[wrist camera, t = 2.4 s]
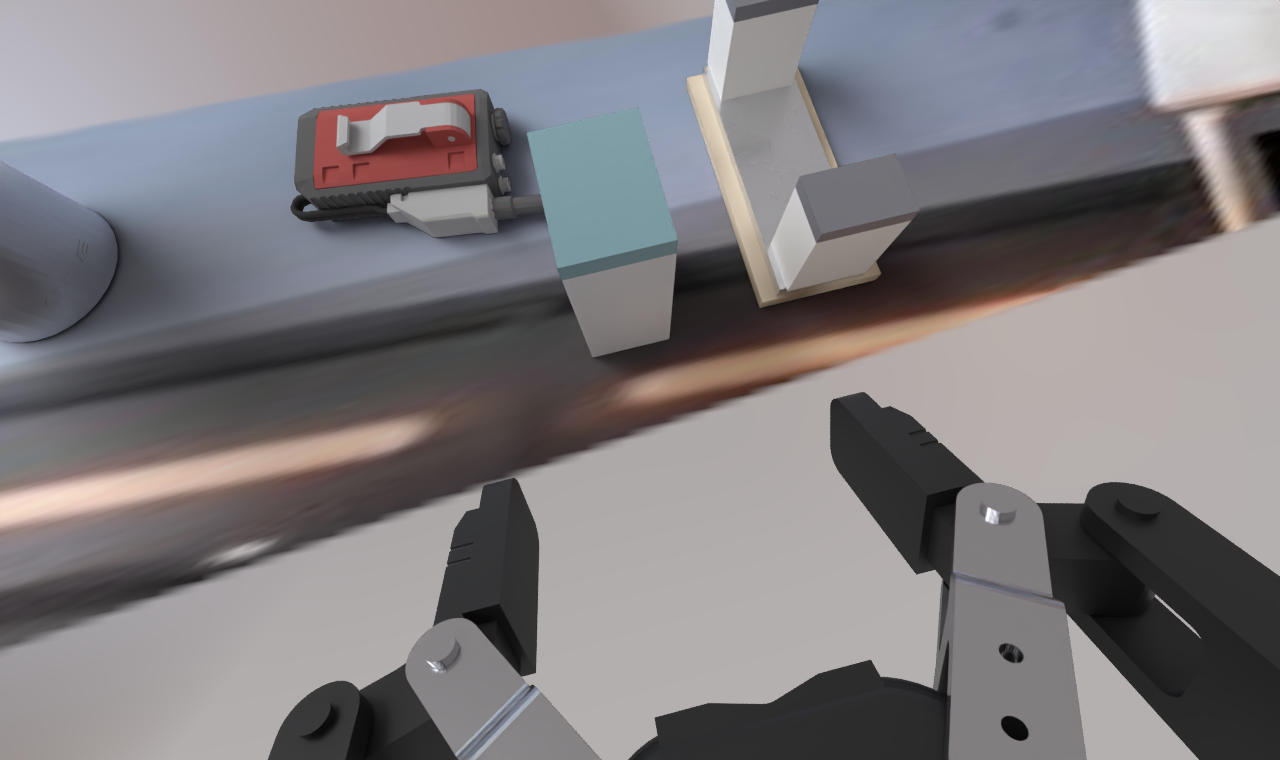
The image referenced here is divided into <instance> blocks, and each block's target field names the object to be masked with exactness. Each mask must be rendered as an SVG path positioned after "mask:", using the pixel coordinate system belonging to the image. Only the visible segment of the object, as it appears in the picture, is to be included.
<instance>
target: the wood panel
mask: <svg viewBox="0 0 1280 760" xmlns="http://www.w3.org/2000/svg"><path fill="white" fill-rule="evenodd" d="M794 77H795V80H796V82H797V85H798V87H799V90H800V92H801V95H802V97H803V100H804V102H805V105H806V107H807V110H808V112H809V115H810V117H811V120H812V122H813V125H814V127H815V130H816V132H817V135H818V137H819V140H820V142H821V145H822V147H823V150H824V153H825V155H826V158H827V160H828V163H829V165H830V168H831V169H832V168H836V167H838V166H837V163H836V161H835V158H834V156H833V153H832V151H831V148H830V146H829V143H828V141H827V138H826V136H825V133H824V131H823V128H822V126H821V123H820V121H819V118H818V116H817V114H816V111H815V109H814V106H813V104H812V101H811V99H810V96H809V94H808V91H807V89H806V86H805V84H804V81H803V79H802V76H801V74H800V71H799V69H798V67H797V70H796V73H795V76H794ZM687 90H688V93H689V96H690V99H691V102H692V105H693V108H694V111H695V114H696V117H697V120H698V123H699V126H700V129H701V132H702V135H703V138H704V141H705V144H706V147H707V151H708V154H709V157H710V160H711V163H712V166H713V169H714V172H715V175H716V178H717V181H718V184H719V187H720V190H721V193H722V196H723V199H724V202H725V205H726V208H727V211H728V214H729V217H730V220H731V223H732V226H733V229H734V232H735V235H736V238H737V241H738V244H739V247H740V251H741V254H742V257H743V260H744V263H745V266H746V269H747V272H748V275H749V278H750V281H751V284H752V287H753V290H754V293H755V296H756V299H757V302H758V305H759V308H762V307H766V306H770V305H774V304H779V303H783V302H787V301H791V300H795V299H799V298H803V297H807V296H812V295H816V294H820V293H824V292H828V291H832V290H836V289H840V288H844V287H849V286H853V285H857V284H861V283H865V282H869V281H873V280H876V279H877V278H878V277H879V276H880V274H881V272H880V270H879V267H878V265H877V262H876V261H875V262H874V264H873V265H872V266H871V267H870V269H869V270H868V271H867V272H866V273H865V274H864V275H860V276H856V277H852V278H848V279H844V280H839V281H835V282H831V283H827V284H823V285H819V286H815V287H811V288H806V289H802V290H798V291H794V292H790V293H786V294H782V295H778V296H777V295H776V292H775V290H774V287H773V284H772V281H771V278H770V275H769V272H768V269H767V266H766V263H765V260H764V257H763V254H762V251H761V249H760V246H759V243H758V240H757V237H756V234H755V231H754V228H753V225H752V222H751V219H750V216H749V213H748V210H747V208H746V205H745V202H744V199H743V196H742V193H741V190H740V187H739V184H738V181H737V178H736V175H735V172H734V169H733V167H732V164H731V161H730V158H729V155H728V152H727V149H726V146H725V143H724V140H723V137H722V134H721V131H720V128H719V126H718V123H717V120H716V117H715V114H714V111H713V108H712V105H711V102H710V99H709V96H708V93H707V90H706V87H705V85H704V82H703V79H702V75H697V76H693V77H688V78H687Z"/></svg>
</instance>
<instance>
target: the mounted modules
mask: <svg viewBox="0 0 1280 760" xmlns="http://www.w3.org/2000/svg"><path fill="white" fill-rule="evenodd" d="M818 1H819V0H715V5H714V13H713V22H712V30H711V39H710V47H709V55H708V65H709V68H710V71H711V74H712V77H713V80H714V83H715V85H716V88H717V91H718V94H719V97H720V100H721V101H724V100H729V99H733V98H737V97H742V96H746V95H751V94H755V93H759V92H764V91H768V90H773V89H777V88H781V87H786V86H790V85H792V83H793V79H794V76H795V73H796V70H797V67H798V64H799V61H800V58H801V55H802V51H803V48H804V45H805V42H806V39H807V36H808V33H809V30H810V26H811V23H812V20H813V17H814V14H815V11H816V8H817V5H818ZM919 211H920V209H919V206H918V204H917V202H916V200H915V197H914V195H913V193H912V191H911V188H910V186H909V184H908V181H907V179H906V177H905V175H904V172H903V170H902V168H901V166H900V163H899V161H898V159H897V156H896V154H892V155H887V156H883V157H879V158H875V159H870V160H866V161H862V162H858V163H853V164H849V165H845V166H841V167H836V168H832V169H828V170H823V171H819V172H815V173H811V174H806V175H802V176H800V177H799V179H798V182H797V184H796V186H795V188H794V191H793V193H792V195H791V198H790V200H789V202H788V205H787V207H786V209H785V212H784V214H783V216H782V219H781V221H780V223H779V226H778V228H777V230H776V233H775V235H774V237H773V239H772V242H771V246H772V249H773V252H774V255H775V258H776V261H777V264H778V266H779V269H780V272H781V275H782V278H783V281H784V284H785V287H786V289H787V291H791V290H796V289H800V288H804V287H808V286H812V285H816V284H820V283H824V282H829V281H833V280H837V279H841V278H845V277H849V276H853V275H857V274H862V273H866V272H867V270H868V269H869V268H870V267H871V266H872V265H873V264H874V262H875V261H876V260H877V259H878V258H879V257H880V256H881V254H882V253H883V252H884V251H885V250H886V249H887V248H888V247H889V245H890V244H891V243H892V242H893V241H894V240H895V239H896V237H897V236H898V235H899V234H900V233H901V232H902V231H903V229H904V228H905V227H906V226H907V225H908V224H909V223H910V221H911V220H912V219H913V218H914V217H915V216H916V215H917V213H918V212H919Z"/></svg>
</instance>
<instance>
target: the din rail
mask: <svg viewBox="0 0 1280 760" xmlns="http://www.w3.org/2000/svg"><path fill="white" fill-rule="evenodd" d="M702 79H703V82H704V85H705V87H706V90H707V93H708V96H709V99H710V102H711V105H712V108H713V111H714V114H715V117H716V120H717V123H718V126H719V128H720V131H721V134H722V137H723V140H724V143H725V146H726V149H727V152H728V155H729V158H730V161H731V164H732V167H733V169H734V172H735V175H736V178H737V181H738V184H739V187H740V190H741V193H742V196H743V199H744V202H745V205H746V208H747V210H748V213H749V216H750V219H751V222H752V225H753V228H754V231H755V234H756V237H757V240H758V243H759V246H760V249H761V251H762V254H763V257H764V260H765V263H766V266H767V269H768V272H769V275H770V278H771V281H772V284H773V287H774V290H775V292H776V295H777V296H778V295H782V294H786V293H790V292H794V291H798V290H802V289H806V288H811V287H815V286H819V285H823V284H827V283H831V282H835V281H839V280H844V279H848V278H852V277H856V276H860V275H864V274H865V273H862V274H857V275H853V276H849V277H845V278H841V279H837V280H833V281H829V282H824V283H820V284H816V285H812V286H808V287H804V288H800V289H796V290H791V291H787V289H786V287H785V284H784V281H783V278H782V275H781V272H780V269H779V266H778V264H777V261H776V258H775V255H774V252H773V249H772V246H771V242H772V239H773V237H774V235H775V233H776V230H777V228H778V226H779V223H780V221H781V219H782V216H783V214H784V212H785V209H786V207H787V205H788V202H789V200H790V198H791V195H792V193H793V191H794V188H795V186H796V184H797V182H798V179H799V177H800V176H802V175H806V174H811V173H815V172H819V171H823V170H828V169H831V168H830V165H829V163H828V160H827V158H826V155H825V153H824V150H823V147H822V145H821V142H820V140H819V137H818V135H817V132H816V130H815V127H814V125H813V122H812V120H811V117H810V115H809V112H808V110H807V107H806V105H805V102H804V100H803V97H802V95H801V92H800V90H799V87H798V85H797V82H796V80H795V77H794V79H793V83H792V85H790V86H786V87H781V88H777V89H773V90H768V91H764V92H759V93H755V94H751V95H746V96H742V97H737V98H733V99H729V100H724V101H721V100H720V97H719V94H718V91H717V88H716V85H715V83H714V80H713V77H712V74H711V71H710V68H709V65H708V66H703V72H702ZM869 269H870V268H869ZM869 269H868V270H869ZM868 270H867V271H868Z"/></svg>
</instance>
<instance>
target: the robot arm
mask: <svg viewBox="0 0 1280 760" xmlns="http://www.w3.org/2000/svg"><path fill="white" fill-rule="evenodd" d="M117 248H118V246H117V242H116V238H115V234H114V232H113V231H112V229H111V227H110V226H109V224H108V223H107V222H106V221H105V220H104V219H103V218H102V217H101V216H100V215H99V214H97V213H95V212H93V211H92V210H90V209H88V208H86V207H84V206H82V205H81V204H79V203H77V202H75V201H73V200H71V199H70V198H68V197H66V196H64V195H62V194H60V193H59V192H57V191H55V190H53V189H51V188H49V187H48V186H46V185H44V184H42V183H40V182H38V181H36V180H35V179H33V178H31V177H29V176H27V175H25V174H24V173H22V172H21V171H19V170H17V169H15V168H13V167H11V166H9V165H8V164H6V163H4V162H2V161H0V340H2V341H6V342H20V343H21V342H29V341H37V340H40V339H43V338H46V337H50V336H53V335H55V334H57V333H59V332H61V331H63V330H65V329H67V328H69V327H70V326H72V325H73V324H75V323H76V322H77V321H79V320H80V319H81V318H83V317H84V316H85V315H86V314H87V313H88V312H89V311H90V310H91V309H92V308H93V307H94V306H95V305H96V304H97V303H98V301H99V300H100V299H101V297H102V296H103V294H104V293H105V292H106V290H107V288H108V286H109V284H110V282H111V280H112V278H113V276H114V272H115V268H116V264H117ZM830 407H831V408H830V416H831V417H830V447H831V448H830V449H831V454H832V458H833V461H834V464H835V466H836V468H837V470H838V471H839V473H840V474H841V475H842V476H843V478H844V479H845V481H846V482H847V483H848V485H849V486H850V487H851V488H852V490H853V491H854V492H855V494H856V495H857V496H858V498H859V499H860V500H861V502H862V503H863V504H864V506H865V507H866V508H867V510H868V511H869V512H870V514H871V515H872V516H873V518H874V519H875V520H876V521H877V523H878V524H879V525H880V527H881V528H882V530H883V531H884V532H885V534H886V535H887V536H888V537H889V539H890V540H891V541H892V543H893V544H894V545H895V547H896V548H897V549H898V551H899V552H900V553H901V555H902V556H903V557H904V559H905V560H906V561H907V563H908V564H909V565H910V567H911V568H912V569H913V570H914V572H915V573H916V574H920V573H924V572H928V571H932V570H936V571H937V572H938V574H939V575H940V576H941V577H942V579H943V580H942V585H941V597H940V612H939V627H938V642H937V658H936V669H935V677H934V685H933V689H932V688H929V687H926V686H924V685H921V684H918V683H914V682H911V681H907V680H903V679H897V678H889V677H880V675H879V673H878V672H877V670H876V668H875V666H874V665H873V663H872V661H871V660H868V661H864V662H860V663H857V664H853V665H849V666H846V667H842V668H838V669H834V670H830V671H827V672H823V673H820V674H817V675H815V676H814V677H812V678H811V679H809V680H808V681H806V682H804V683H803V684H801V685H799V686H798V687H796V688H794V689H793V690H791V691H790V692H788V693H786V694H785V695H783V696H782V697H780V698H778V699H777V700H775V701H773V702H771V703H768V704H723V703H708V704H704V705H700V706H696V707H693V708H689V709H685V710H681V711H678V712H674V713H670V714H667V715H663V716H659V717H655V722H656V728H657V734H658V736H656V737H655V738H653V739H652V740H650V741H648V742H647V743H646V744H645V745H643V746H642V747H641V748H640V749H638V750H637V751H636V752H635V753H634V754H633V755H632V757H630V758H629V759H628V760H1087V759H1086V752H1085V745H1084V738H1083V730H1082V724H1081V716H1080V709H1079V702H1078V695H1077V687H1076V680H1075V674H1074V666H1073V659H1072V651H1071V645H1070V637H1069V630H1068V623H1067V616H1066V614H1068V615H1069V616H1070V617H1071V619H1072V620H1073V621H1074V622H1075V623H1076V624H1077V625H1078V626H1079V627H1080V629H1081V630H1082V631H1083V632H1084V633H1085V634H1086V635H1087V636H1088V637H1089V638H1090V640H1091V641H1092V642H1093V643H1094V644H1095V645H1096V646H1097V647H1098V648H1099V650H1101V652H1102V653H1103V654H1104V655H1105V656H1106V657H1107V658H1108V659H1109V661H1110V662H1111V663H1112V664H1113V665H1114V666H1115V667H1116V668H1117V669H1118V671H1119V672H1120V673H1121V674H1122V675H1123V676H1124V677H1125V678H1126V679H1127V680H1128V681H1129V683H1130V684H1131V685H1132V686H1133V687H1134V688H1135V689H1136V690H1137V692H1138V693H1139V694H1140V695H1141V696H1142V697H1143V698H1144V699H1145V700H1146V701H1147V703H1148V704H1149V705H1150V706H1151V707H1152V708H1153V709H1154V710H1155V711H1156V712H1157V714H1158V715H1159V716H1160V717H1161V718H1162V719H1163V720H1164V721H1165V722H1166V724H1167V725H1168V726H1169V727H1170V728H1171V729H1172V730H1173V731H1174V732H1175V733H1176V735H1177V736H1178V737H1179V738H1180V739H1181V740H1182V741H1183V742H1184V743H1185V745H1186V746H1187V747H1188V748H1189V749H1190V750H1191V751H1192V752H1193V753H1194V755H1195V756H1196V757H1197V758H1198V759H1199V760H1280V576H1278V575H1277V574H1276V573H1274V572H1273V571H1271V570H1270V569H1269V568H1267V567H1266V566H1264V565H1263V564H1262V563H1260V562H1259V561H1257V560H1256V559H1255V558H1253V557H1252V556H1250V555H1249V554H1248V553H1246V552H1245V551H1243V550H1242V549H1241V548H1239V547H1238V546H1236V545H1235V544H1234V543H1232V542H1231V541H1229V540H1228V539H1226V538H1225V537H1224V536H1222V535H1221V534H1220V533H1218V532H1217V531H1215V530H1214V529H1212V528H1211V527H1210V526H1208V525H1207V524H1205V523H1204V522H1203V521H1201V520H1200V519H1198V518H1197V517H1196V516H1194V515H1193V514H1191V513H1190V512H1189V511H1187V510H1186V509H1184V508H1183V507H1182V506H1180V505H1179V504H1177V503H1176V502H1175V501H1173V500H1171V499H1170V498H1168V497H1167V496H1165V495H1163V494H1161V493H1159V492H1156V491H1154V490H1152V489H1149V488H1146V487H1143V486H1139V485H1135V484H1129V483H1120V482H1119V483H1118V482H1109V483H1103V484H1100V485H1097V486H1095V487H1093V488H1092V489H1091V490H1090V491H1089V492H1088V494H1087V497H1086V500H1085V503H1084V504H1071V503H1070V504H1068V503H1065V504H1063V503H1056V504H1055V503H1035V502H1034V501H1033V500H1032V499H1031V498H1030V497H1028V496H1027V495H1026V494H1024V493H1022V492H1020V491H1018V490H1016V489H1014V488H1011V487H1008V486H1005V485H1001V484H995V483H985V482H983V481H982V480H981V479H980V478H979V477H978V476H977V475H976V474H975V473H974V472H972V471H971V470H970V469H969V468H968V467H967V466H966V465H965V464H964V463H962V462H961V461H960V460H959V459H958V458H957V457H956V456H955V455H954V454H953V453H951V452H950V451H949V450H948V449H947V448H946V447H945V446H944V445H943V444H942V443H938V440H937V439H936V438H935V437H934V436H933V435H932V434H930V433H929V432H926V430H925V428H924V427H923V426H921V425H920V424H919V423H918V422H917V421H916V420H915V419H914V418H913V417H912V416H910V415H908V414H906V413H904V412H901V411H899V410H897V409H895V408H893V407H891V406H889V407H886V408H881V407H880V406H879V405H878V404H877V403H876V402H875V401H874V400H873V399H872V398H870V396H869V395H867V394H866V393H864V392H860V393H857V394H852V395H848V396H844V397H841V398H837V399H833V400H832V402H831V406H830ZM447 564H448V567H446V570H445V575H444V580H443V584H442V589H441V593H440V598H439V602H438V607H437V612H436V616H435V621H434V625H433V627H432V628H431V629H430V630H428V631H427V632H426V633H425V634H424V635H422V636H421V638H420V639H419V640H418V641H417V642H416V644H415V645H414V646H413V648H412V650H411V652H410V654H409V656H408V659H407V662H406V663H405V664H404V665H403V666H401V667H400V668H398V669H397V670H395V671H393V672H391V673H390V674H388V675H386V676H384V677H383V678H381V679H379V680H377V681H376V682H374V683H372V684H370V685H368V686H367V687H365V688H363V689H361V690H360V691H359V690H358V689H357V688H356V687H355V686H354V685H353V684H352V683H349V682H347V681H335V682H331V683H328V684H326V685H324V686H321V687H320V688H318V689H316V690H315V691H313V692H311V693H310V694H309V695H307V696H306V697H305V698H304V699H302V700H301V701H300V702H299V703H298V704H297V705H296V706H295V708H294V709H293V710H292V711H291V712H290V713H289V715H288V716H287V717H286V719H285V720H284V722H283V724H282V726H281V727H280V730H279V732H278V734H277V736H276V739H275V742H274V744H273V747H272V750H271V752H270V755H269V758H268V760H601V759H600V758H599V756H598V755H597V754H596V753H595V752H594V751H593V750H592V749H591V747H590V746H589V745H588V744H587V743H586V742H585V741H584V740H583V738H582V737H581V736H580V735H579V734H578V733H577V732H576V731H575V730H574V729H573V727H572V726H571V725H570V724H569V723H568V722H567V721H566V719H565V718H564V717H563V716H562V715H561V714H560V713H559V712H558V710H557V709H556V708H555V707H554V706H553V705H552V704H551V703H550V701H549V700H548V699H547V698H546V697H545V696H544V695H543V694H542V693H541V692H540V691H539V690H538V689H537V688H536V687H535V686H534V685H531V686H529V685H528V684H527V683H526V682H525V681H524V680H523V678H522V676H526V675H530V674H534V673H536V651H537V611H538V610H537V609H538V572H539V539H538V533H537V528H536V524H535V521H534V519H533V516H532V514H531V512H530V509H529V507H528V505H527V502H526V500H525V497H524V495H523V493H522V490H521V488H520V485H519V483H518V481H517V480H516V479H515V478H512V479H508V480H504V481H500V482H496V483H492V484H488V485H484V487H483V490H482V495H481V501H480V507H479V508H478V509H475V510H470V511H467V512H466V513H465V514H464V516H463V518H462V519H461V520H460V522H459V524H458V525H457V527H456V528H455V530H454V534H453V538H452V543H451V551H450V552H449V557H448V561H447ZM1155 594H1156V595H1157V596H1158V597H1159V598H1161V599H1162V600H1163V601H1164V602H1165V603H1166V604H1167V605H1168V606H1169V607H1171V608H1172V609H1173V610H1174V611H1175V612H1176V613H1177V614H1178V615H1180V616H1181V617H1182V618H1183V619H1184V620H1185V621H1186V622H1187V623H1188V624H1190V625H1191V626H1192V627H1193V628H1194V629H1195V630H1196V632H1197V633H1198V634H1199V636H1200V637H1201V638H1199V637H1198V636H1197V635H1196V634H1195V633H1194V632H1193V631H1192V630H1191V629H1189V628H1188V627H1187V626H1186V625H1185V624H1184V623H1183V622H1182V621H1181V620H1180V619H1178V618H1177V617H1176V616H1175V615H1174V614H1173V613H1172V612H1171V611H1169V609H1167V608H1166V607H1165V606H1164V605H1163V604H1162V603H1161V602H1160V601H1159V600H1158V599H1156V598H1155V597H1154V596H1155Z"/></svg>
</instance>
